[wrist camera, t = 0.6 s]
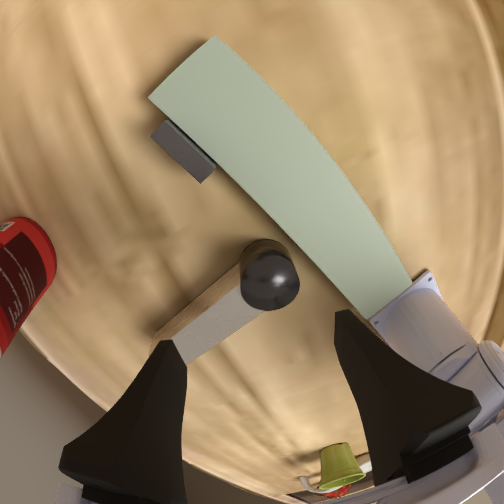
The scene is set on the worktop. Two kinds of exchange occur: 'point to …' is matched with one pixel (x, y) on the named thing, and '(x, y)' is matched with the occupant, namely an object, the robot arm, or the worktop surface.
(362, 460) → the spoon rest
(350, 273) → the pale green flat bar
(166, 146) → the block
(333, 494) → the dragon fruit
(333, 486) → the plant pot
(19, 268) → the canned food
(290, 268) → the latch bar
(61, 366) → the worktop surface
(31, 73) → the worktop surface
